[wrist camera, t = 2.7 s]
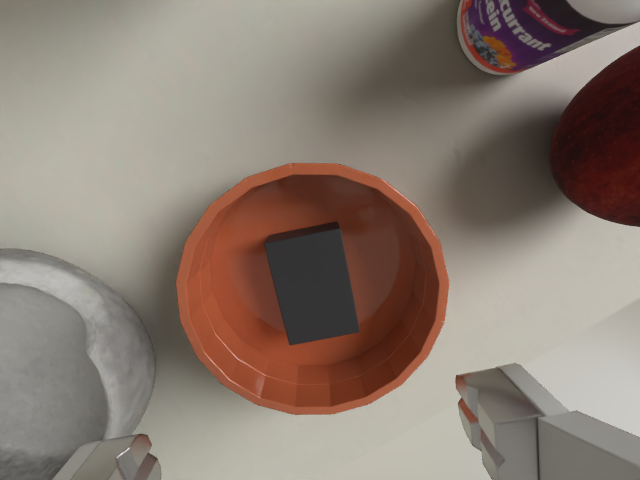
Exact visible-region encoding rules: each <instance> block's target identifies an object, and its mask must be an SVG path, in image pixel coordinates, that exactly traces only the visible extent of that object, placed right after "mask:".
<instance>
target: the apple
mask: <svg viewBox="0 0 640 480" xmlns="http://www.w3.org/2000/svg"><path fill="white" fill-rule="evenodd" d="M550 166H551V172H552V175H553V178H554V180H555V182H556V184H557V186H558V187H559V188H560V190H561V191H562V192H563V194H564V195H565V196H566V197H567V198H568V199H569V200H570V201H572V202H573V203H574V204H576V205H577V206H579V207H580V208H581V209H583V210H585V211H586V212H588V213H590V214H592V215H594V216H597V217H599V218H602V219H604V220H608V221H611V222H615V223H619V224H623V225H629V226H637V227H640V46H638V47H636V48H634V49H633V50H631V51H629V52H628V53H626V54H624V55H623V56H621V57H620V58H618V59H617V60H615V61H614V62H612V63H611V64H610V65H608V66H607V67H606V68H604V69H603V70H602V71H601V72H600V73H598V74H597V75H596V76H595V77H594V78H592V79H591V80H590V81H589V82H588V83H587V84H586V85H585V86H584V87H583V88H582V89H581V90H580V91H579V92H578V93H577V94H576V96H575V97H574V98H573V99H572V101H571V102H570V103H569V105H568V106H567V108H566V109H565V111H564V112H563V114H562V116H561V118H560V120H559V122H558V124H557V126H556V129H555V131H554V134H553V137H552V140H551V147H550Z"/></svg>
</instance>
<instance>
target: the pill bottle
mask: <svg viewBox="0 0 640 480" xmlns="http://www.w3.org/2000/svg"><path fill="white" fill-rule="evenodd" d="M639 21H640V0H461V1H460V4H459V8H458V14H457V32H458V38H459V42H460V44H461V47H462V49H463V51H464V53H465V55H466V56H467V57H468V59H469V60H470V61H471V62H472V63H473V64H474V65H475V66H476V67H478V68H479V69H481V70H483V71H485V72H487V73H490V74H495V75H510V74H516V73H519V72H522V71H524V70H527V69H530V68H532V67H534V66H537V65H539V64H541V63H544V62H546V61H548V60H551V59H553V58H555V57H558V56H560V55H562V54H565V53H567V52H569V51H571V50H574V49H576V48H578V47H581V46H583V45H585V44H587V43H590V42H592V41H594V40H597V39H599V38H602V37H604V36H606V35H609V34H611V33H613V32H616V31H618V30H620V29H623V28H625V27H628V26H630V25H632V24H635V23H637V22H639Z"/></svg>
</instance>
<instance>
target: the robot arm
mask: <svg viewBox="0 0 640 480" xmlns="http://www.w3.org/2000/svg"><path fill="white" fill-rule="evenodd" d="M456 389H457V391H458V392H459V394H460V395H461V397H462V398H461V399H460V401H459V403H458V408H459V414H460V418H461V421H462V425H463V427H464V430H465V432H466V434H467V437H468V438H469V440H470V442H471V444H472V445H473V446H474V447H475V448H477V449H479V450H480V451H481V452H482V460H483V465H484V466H485V468H486V470H487V472H488V473H489V475H490V477H491V479H492V480H640V437H638V436H636V435H633V434H631V433H628V432H626V431H624V430H621V429H619V428H617V427H614V426H612V425H609V424H607V423H605V422H602V421H600V420H598V419H595V418H593V417H591V416H588V415H586V414H583V413H581V412H579V411H572V412H569V411H568V410H567V409H566V408H565V407H564V406H563V405H562V404H561V403H560V402H559V401H558V400H557V399H556V398H554V396H553V395H551V394H550V393H549V392H548V391H547V390H546V389H545V388H544V387H543V386H542V385H541V384H540V383H539V382H538V381H537V380H536V379H535V378H533V377H532V376H531V375H530V374H529V373H528V372H527V371H526V370H525V369H524V368H523V367H522V366H521V365H519V364H517V363H513V364H508V365H504V366H499V367H496V368H491V369H486V370H481V371H475V372H470V373H465V374H460V375H456ZM151 446H152V444H151V442H150V440H149V438H148V435H145V434H137V435H130V436H124V437H118V438H112V439H106V440H102V441H95V442H89V443H86V444H84V445H82V446H81V447H79V448H78V449H77V451H76V452H75V453H74V454H73V455H72V457H71V458H70V459H69V460H68V461H67V463H66V464H65V465H64V466H63V467H62V468H61V470H60V471H59V472H58V473H57V474H56V476H55V477H54V478H53V479H52V480H161V466H160V464H159V461H158V459H157V458H156V457H154V456H153V455H152V454H150V453H149V452H150V449H151Z"/></svg>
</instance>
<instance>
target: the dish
mask: <svg viewBox="0 0 640 480" xmlns="http://www.w3.org/2000/svg"><path fill="white" fill-rule="evenodd" d="M155 375H156V361H155V354H154V349H153V346H152V343H151V340H150V338H149V335H148V333H147V331H146V329H145V327H144V325H143V323H142V322H141V320H140V319H139V317H138V316H137V315H136V313H135V312H134V311H133V309H132V308H131V307H130V306H129V305H128V304H127V303H126V301H125V300H124V299H123V298H122V297H121V296H119V295H118V294H117V293H116V292H115V291H113V290H112V289H111V288H110V287H108V286H107V285H106V284H104V283H103V282H102V281H100V280H99V279H98V278H96V277H95V276H93V275H91V274H90V273H88V272H86V271H85V270H83V269H81V268H79V267H77V266H75V265H73V264H70V263H68V262H66V261H64V260H61V259H59V258H56V257H53V256H50V255H47V254H43V253H39V252H35V251H30V250H22V249H0V480H52V479H53V478H54V477H55V476H56V474H57V473H58V472H59V471H60V470H61V468H62V467H63V466H64V465H65V464H66V463H67V461H68V460H69V459H70V458H71V457H72V455H73V454H74V453H75V452H76V451H77V449H78V448H79V447H81V446H82V445H84V444H86V443H89V442H95V441H102V440H106V439H112V438H118V437H124V436H130V435H131V434H132V433H133V431H134V430H135V428H136V427H137V425H138V423H139V422H140V420H141V418H142V416H143V414H144V412H145V410H146V407H147V405H148V402H149V400H150V397H151V394H152V391H153V388H154V382H155Z"/></svg>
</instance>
